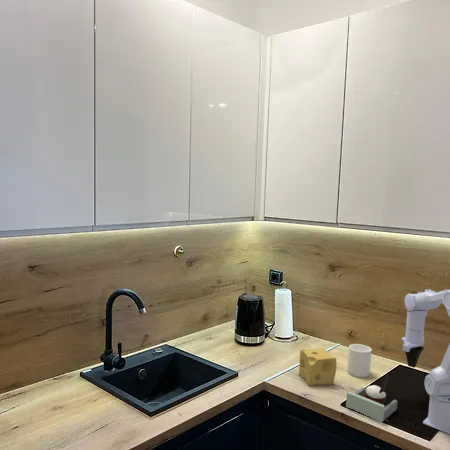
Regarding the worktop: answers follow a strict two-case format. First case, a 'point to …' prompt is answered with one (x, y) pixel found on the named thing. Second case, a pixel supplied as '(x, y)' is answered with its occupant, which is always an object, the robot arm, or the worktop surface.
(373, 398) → the cocoa
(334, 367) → the cheese
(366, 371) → the cup
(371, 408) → the box
